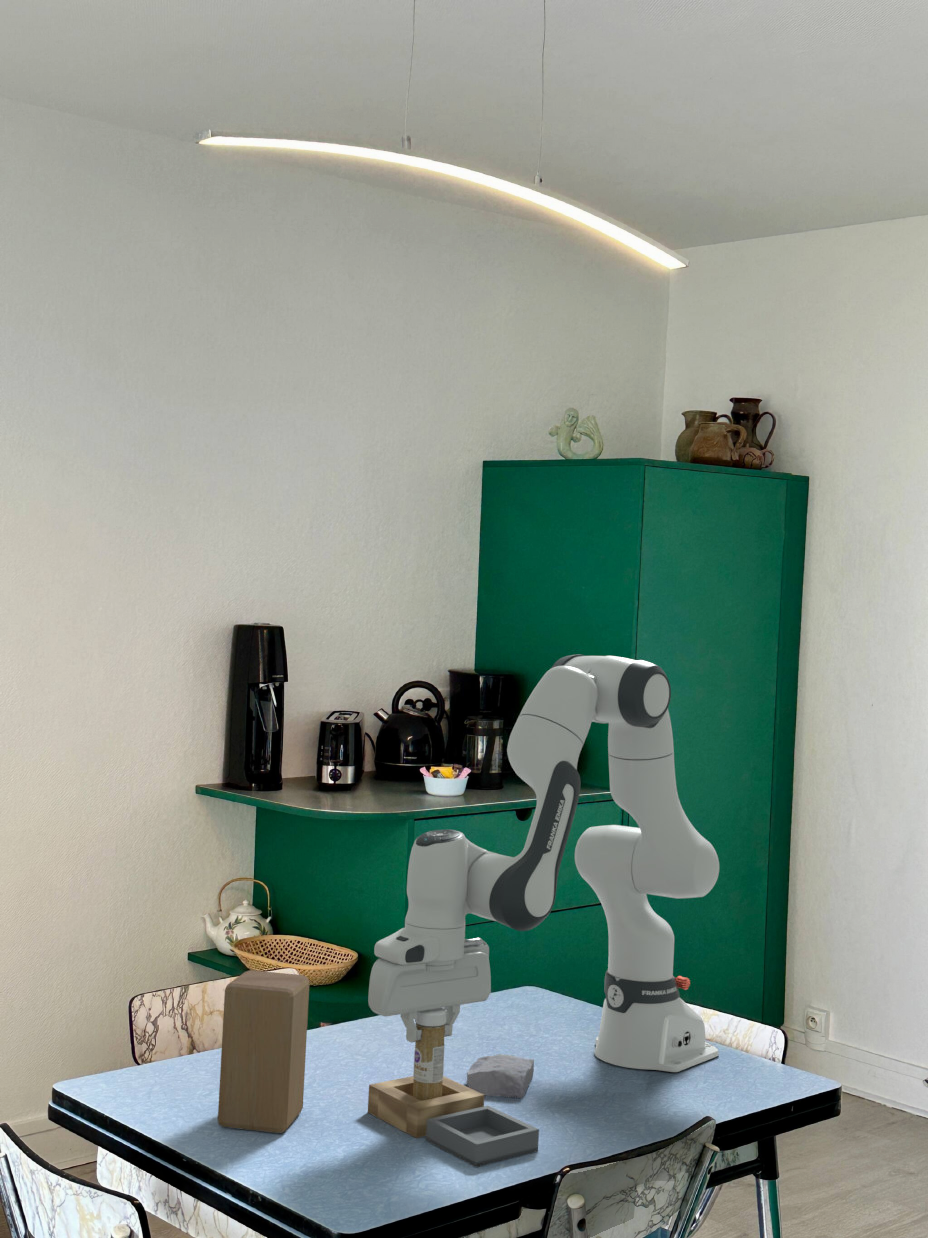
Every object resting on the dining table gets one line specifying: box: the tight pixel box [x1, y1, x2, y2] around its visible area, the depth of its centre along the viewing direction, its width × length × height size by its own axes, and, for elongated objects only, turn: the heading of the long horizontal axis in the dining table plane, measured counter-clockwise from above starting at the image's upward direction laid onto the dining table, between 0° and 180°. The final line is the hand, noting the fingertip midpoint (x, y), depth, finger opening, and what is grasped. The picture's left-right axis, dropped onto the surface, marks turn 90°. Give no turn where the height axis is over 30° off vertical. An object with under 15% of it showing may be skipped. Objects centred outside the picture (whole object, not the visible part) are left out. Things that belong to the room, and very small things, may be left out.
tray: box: [425, 1105, 540, 1168], centre depth 186 cm, size 11×11×3 cm
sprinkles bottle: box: [412, 1008, 447, 1101], centre depth 196 cm, size 5×5×13 cm
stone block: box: [466, 1053, 535, 1099], centre depth 213 cm, size 12×5×10 cm
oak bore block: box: [367, 1075, 485, 1139], centre depth 196 cm, size 12×12×4 cm
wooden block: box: [217, 969, 310, 1134], centre depth 192 cm, size 10×10×20 cm
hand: (429, 1038), depth 196 cm, fingers closed on sprinkles bottle, 4 cm apart
